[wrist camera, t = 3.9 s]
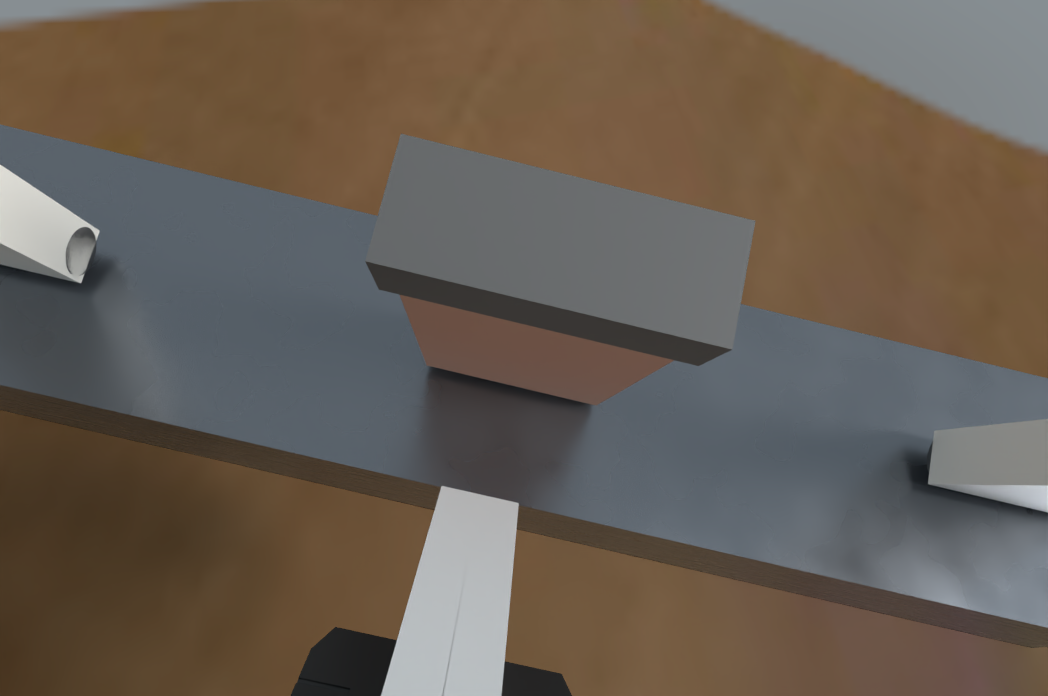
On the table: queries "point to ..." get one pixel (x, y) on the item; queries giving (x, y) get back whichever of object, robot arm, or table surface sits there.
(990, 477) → the lever right
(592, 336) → the lever middle
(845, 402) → the switch panel
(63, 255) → the lever left
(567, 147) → the table surface
